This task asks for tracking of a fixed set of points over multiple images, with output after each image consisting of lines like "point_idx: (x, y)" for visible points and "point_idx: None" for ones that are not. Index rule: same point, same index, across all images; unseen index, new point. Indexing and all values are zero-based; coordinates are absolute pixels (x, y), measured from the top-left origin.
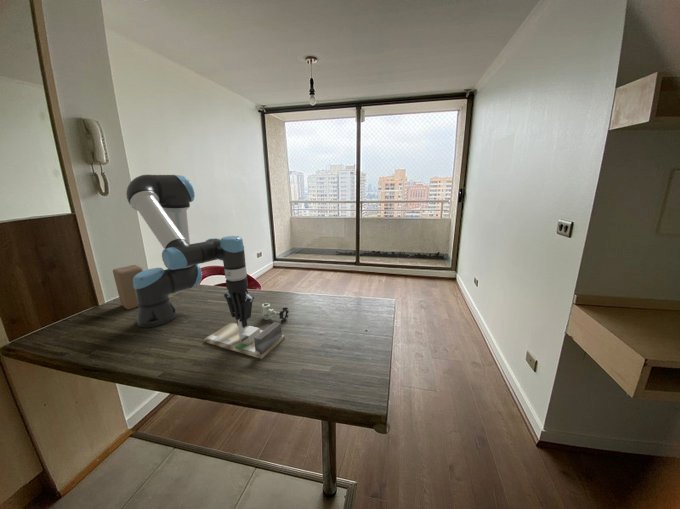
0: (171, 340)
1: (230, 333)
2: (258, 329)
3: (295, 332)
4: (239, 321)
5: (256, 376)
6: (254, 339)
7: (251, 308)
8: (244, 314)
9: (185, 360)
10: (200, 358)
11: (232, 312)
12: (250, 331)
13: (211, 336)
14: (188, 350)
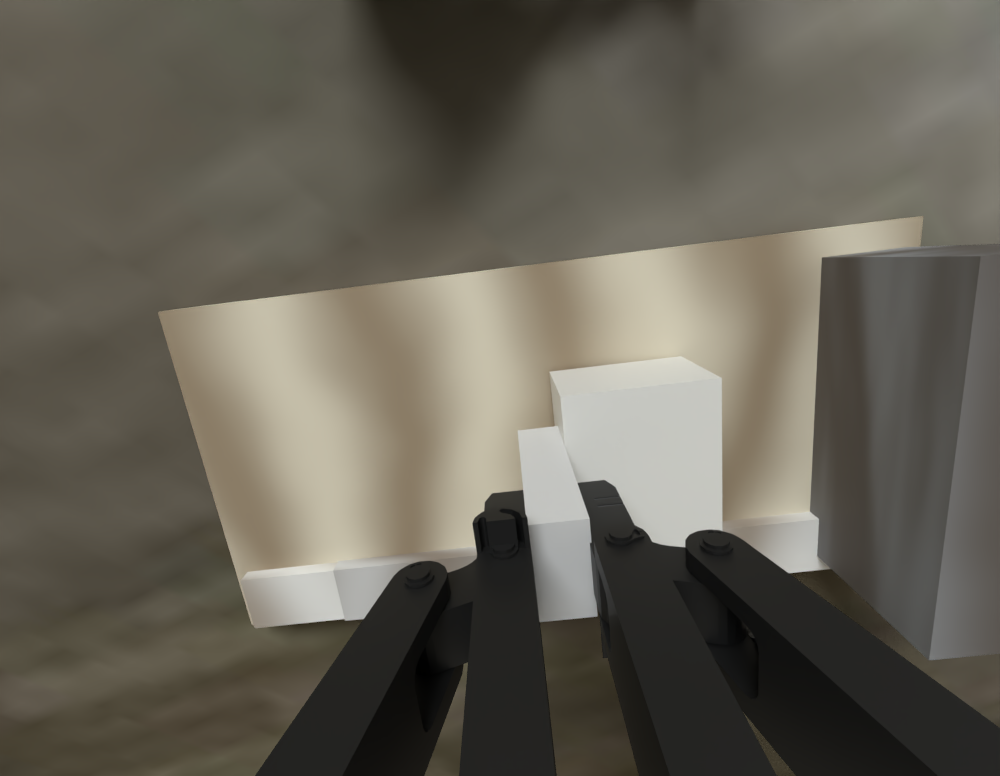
0: (23, 704)
1: (364, 463)
2: (718, 395)
3: (959, 53)
4: (575, 610)
5: (941, 670)
6: (917, 643)
7: (941, 690)
8: (755, 719)
9: None
10: None
11: (433, 736)
12: (671, 481)
13: (276, 594)
14: (273, 713)
